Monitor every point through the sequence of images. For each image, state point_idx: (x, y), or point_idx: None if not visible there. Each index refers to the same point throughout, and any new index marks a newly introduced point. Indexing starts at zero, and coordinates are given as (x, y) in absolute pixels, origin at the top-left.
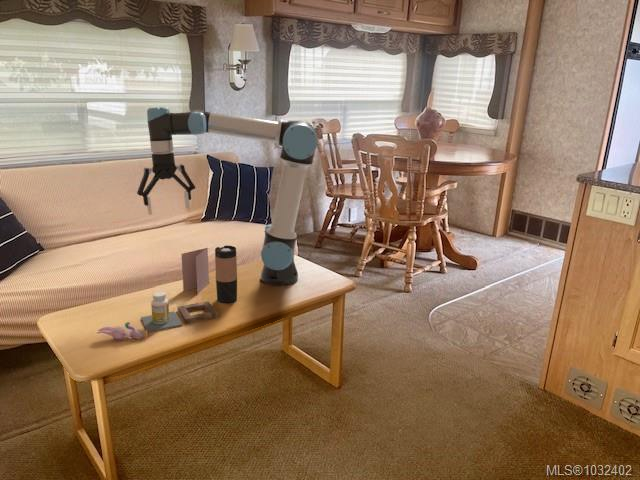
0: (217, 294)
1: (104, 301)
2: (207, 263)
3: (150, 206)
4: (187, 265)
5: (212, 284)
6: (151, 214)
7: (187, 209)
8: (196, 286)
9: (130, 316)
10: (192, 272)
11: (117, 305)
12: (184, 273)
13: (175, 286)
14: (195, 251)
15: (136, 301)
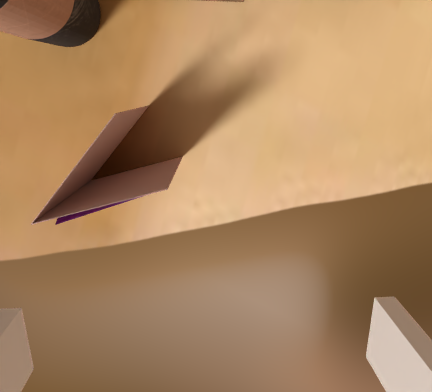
0: (93, 4)
1: (416, 183)
2: (65, 196)
3: (425, 355)
4: (150, 180)
5: None
6: (380, 298)
7: (22, 313)
8: (135, 169)
9: (384, 32)
10: (136, 178)
11: (393, 136)
12: (169, 170)
13: (196, 203)
14: (96, 206)
15: (335, 140)
